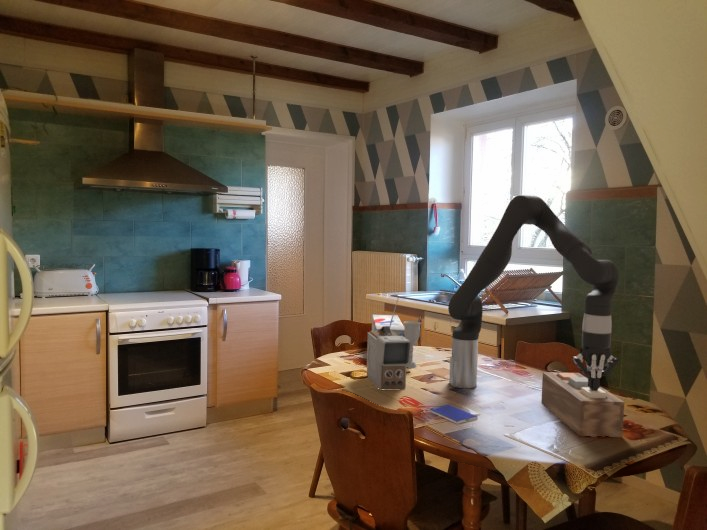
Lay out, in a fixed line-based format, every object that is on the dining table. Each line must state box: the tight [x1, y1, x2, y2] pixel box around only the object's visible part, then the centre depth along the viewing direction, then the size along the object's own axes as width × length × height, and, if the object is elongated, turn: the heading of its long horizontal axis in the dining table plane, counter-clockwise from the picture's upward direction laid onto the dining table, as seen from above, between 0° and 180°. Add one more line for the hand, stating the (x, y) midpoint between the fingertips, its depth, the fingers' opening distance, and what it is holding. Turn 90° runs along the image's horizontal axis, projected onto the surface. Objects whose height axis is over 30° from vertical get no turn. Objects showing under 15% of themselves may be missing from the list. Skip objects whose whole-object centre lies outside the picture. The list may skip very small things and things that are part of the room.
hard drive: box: [429, 403, 478, 425], centre depth 171 cm, size 2×8×12 cm
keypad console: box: [540, 371, 625, 438], centre depth 170 cm, size 12×30×10 cm, turn 1°
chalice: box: [403, 320, 422, 369], centre depth 227 cm, size 7×7×18 cm
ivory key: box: [581, 387, 606, 398], centre depth 161 cm, size 5×5×5 cm
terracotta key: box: [557, 372, 578, 380], centre depth 179 cm, size 5×5×5 cm
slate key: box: [569, 376, 588, 389], centre depth 170 cm, size 5×5×5 cm
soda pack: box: [371, 314, 405, 338], centre depth 255 cm, size 41×13×14 cm, turn 0°
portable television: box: [366, 297, 412, 390], centre depth 202 cm, size 12×24×30 cm, turn 12°
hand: (593, 389), depth 160 cm, fingers closed
